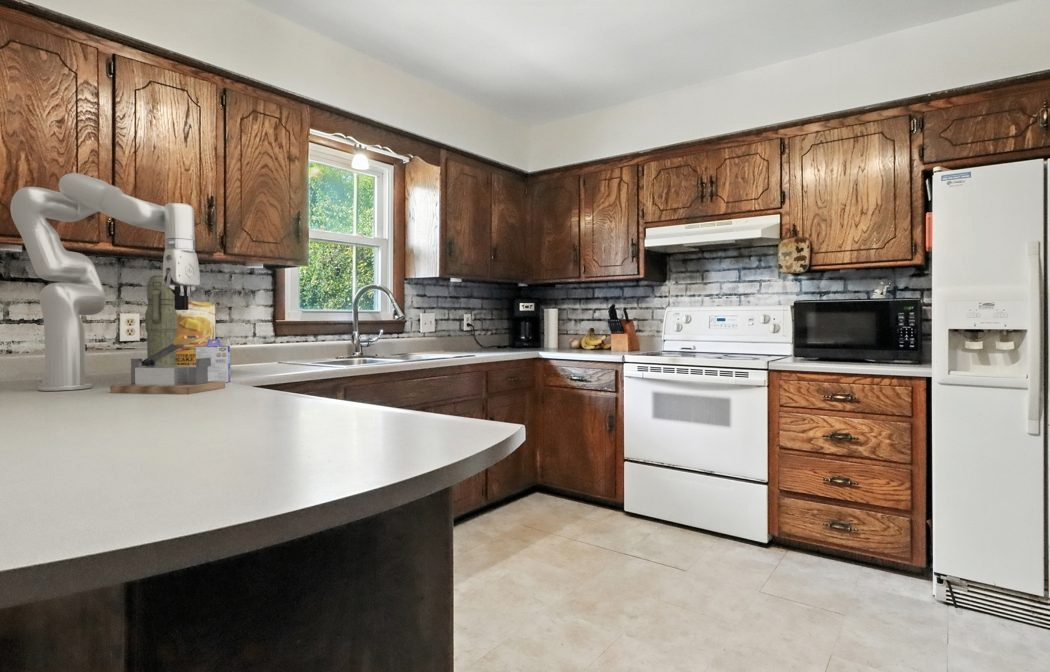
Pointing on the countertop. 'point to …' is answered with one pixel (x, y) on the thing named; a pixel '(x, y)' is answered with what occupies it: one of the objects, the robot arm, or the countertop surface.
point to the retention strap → (169, 349)
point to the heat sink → (162, 375)
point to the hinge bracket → (137, 363)
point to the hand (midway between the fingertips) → (181, 309)
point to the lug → (199, 371)
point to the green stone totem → (160, 320)
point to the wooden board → (167, 388)
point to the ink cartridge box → (216, 360)
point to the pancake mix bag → (195, 329)
